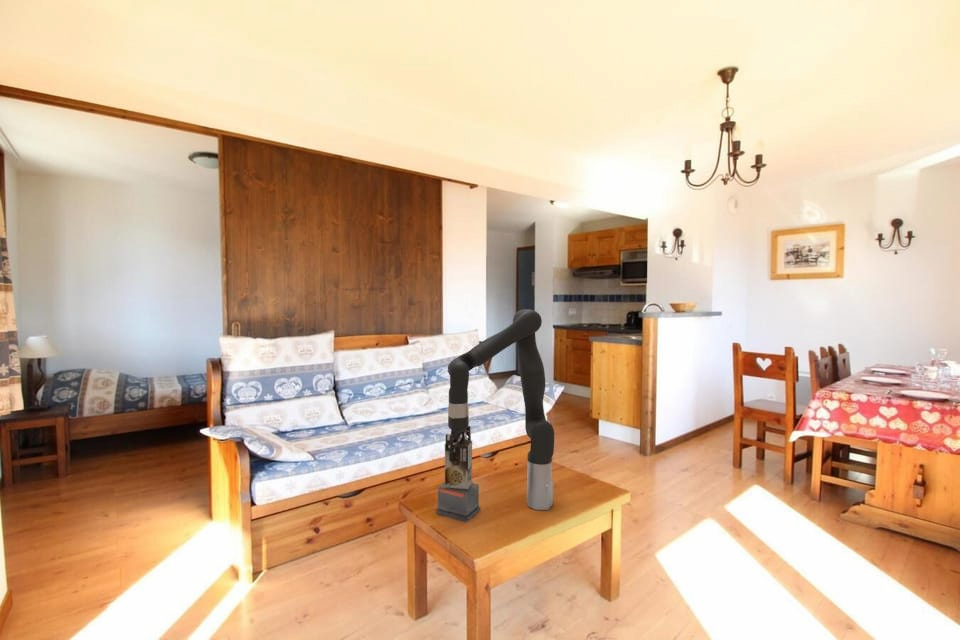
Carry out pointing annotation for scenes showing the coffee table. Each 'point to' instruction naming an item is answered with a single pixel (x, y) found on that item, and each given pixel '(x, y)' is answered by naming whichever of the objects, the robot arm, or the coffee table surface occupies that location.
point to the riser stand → (458, 502)
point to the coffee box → (459, 467)
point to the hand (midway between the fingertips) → (458, 458)
